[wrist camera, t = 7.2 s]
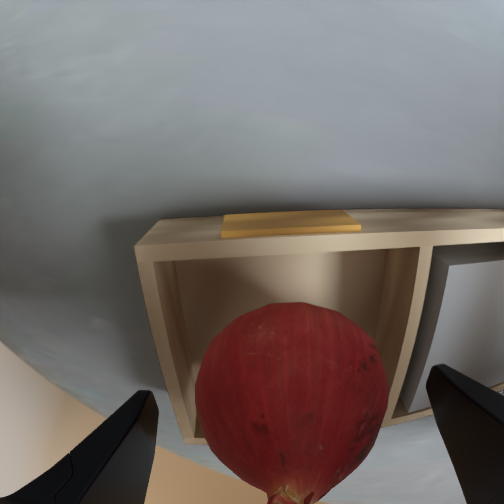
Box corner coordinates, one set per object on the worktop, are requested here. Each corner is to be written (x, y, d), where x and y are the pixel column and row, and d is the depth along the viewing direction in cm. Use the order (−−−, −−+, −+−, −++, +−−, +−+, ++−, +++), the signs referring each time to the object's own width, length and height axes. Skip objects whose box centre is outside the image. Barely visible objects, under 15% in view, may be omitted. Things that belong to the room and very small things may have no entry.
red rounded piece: (364, 257, 11) (468, 433, 4) (350, 374, 13) (388, 533, 6) (205, 264, 12) (128, 455, 4) (223, 379, 14) (196, 543, 6)
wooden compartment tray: (527, 206, 11) (571, 224, 8) (489, 355, 15) (517, 387, 12) (158, 214, 11) (129, 242, 8) (192, 397, 15) (184, 449, 11)
